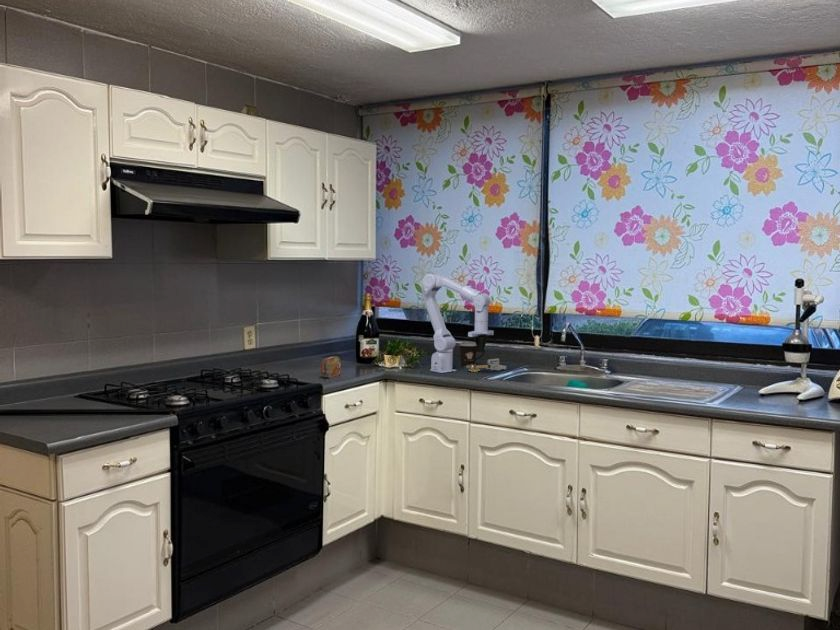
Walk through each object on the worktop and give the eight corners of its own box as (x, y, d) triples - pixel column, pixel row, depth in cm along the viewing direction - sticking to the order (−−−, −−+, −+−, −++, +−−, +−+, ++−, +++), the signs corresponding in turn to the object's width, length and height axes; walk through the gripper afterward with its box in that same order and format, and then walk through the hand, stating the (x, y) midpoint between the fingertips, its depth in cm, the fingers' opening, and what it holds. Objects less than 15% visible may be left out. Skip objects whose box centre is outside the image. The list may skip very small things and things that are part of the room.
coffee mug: (456, 366, 354) (457, 345, 353) (461, 364, 362) (461, 343, 362) (481, 368, 351) (481, 346, 350) (484, 365, 359) (485, 344, 358)
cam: (471, 372, 336) (471, 365, 336) (465, 370, 342) (465, 363, 341) (493, 371, 340) (493, 364, 340) (487, 369, 346) (487, 362, 346)
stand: (494, 370, 343) (495, 360, 343) (486, 369, 347) (486, 359, 346) (506, 369, 349) (506, 359, 348) (497, 367, 352) (498, 358, 352)
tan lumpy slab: (326, 379, 312) (327, 359, 311) (319, 379, 313) (320, 359, 312) (342, 374, 326) (342, 355, 326) (335, 373, 327) (335, 354, 327)
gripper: (477, 322, 321) (476, 354, 322) (499, 321, 331) (498, 351, 332) (464, 321, 326) (464, 352, 327) (487, 320, 336) (486, 350, 337)
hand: (480, 352), depth 330 cm, fingers closed
